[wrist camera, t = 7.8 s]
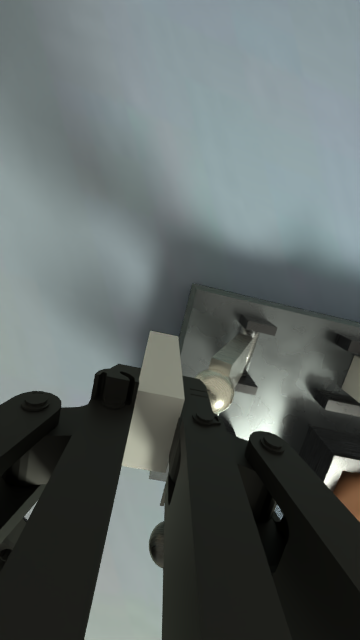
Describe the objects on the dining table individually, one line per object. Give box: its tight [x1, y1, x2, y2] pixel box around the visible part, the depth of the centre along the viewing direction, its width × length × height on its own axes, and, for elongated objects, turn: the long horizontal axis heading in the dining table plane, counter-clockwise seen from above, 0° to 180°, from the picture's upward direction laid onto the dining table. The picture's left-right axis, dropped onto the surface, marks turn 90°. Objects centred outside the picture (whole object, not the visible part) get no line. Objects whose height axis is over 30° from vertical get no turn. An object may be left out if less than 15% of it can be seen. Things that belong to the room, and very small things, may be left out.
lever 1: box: [149, 521, 164, 568], centre depth 18 cm, size 2×3×8 cm
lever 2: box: [195, 333, 254, 415], centre depth 16 cm, size 2×3×8 cm
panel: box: [149, 283, 360, 515], centre depth 23 cm, size 21×16×8 cm
